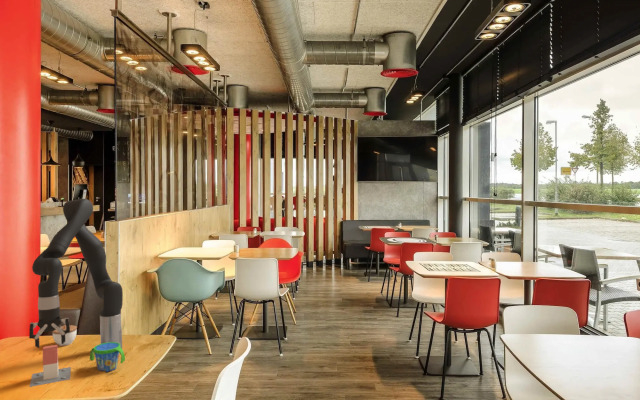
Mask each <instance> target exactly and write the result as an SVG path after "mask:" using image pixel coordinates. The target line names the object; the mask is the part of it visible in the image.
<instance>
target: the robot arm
mask: <svg viewBox="0 0 640 400" xmlns="http://www.w3.org/2000/svg"><path fill="white" fill-rule="evenodd" d="M62 212H63V215H64V217H65V220H66V222H67V223H66V224H65V225H64V226H62V228H60V229H59V230H58V231H57V233H55V234H54V235H53V238H51V241H50V243H49V244H48V246H47V247H46V248H45V249H44V250H43V251H42V252H41V253H40V254H39V255H38V256H37V257H36V258H35V260H34V261H33V263H32V266H31V270H32V272H33V274H34V275H36V276H47V280H42V281H40V282H39V283H38V284H37V289H38V290H37V291H38V294H37V295H38V299H37V309H38V321H37V322H33V321H32V322H30V323H29V328H28V329H29V333H28V335H29V336H28V337H29V339H34V346H35V347H36V349H39V348H40V337H41V335H42V334H43V332H45V333H49V332H52V331H54V330H57V331H58V332H60V333H61V342H62V344H64V342H65V334H66V333H69V332H70V318H69V317H64V318H61V309H60V308H61V307H60V296H59V282H60V278H61V274H62V270H63V263H62V261H61V260H60V258H63V257H64V256H65V254H66V253H67V251H68V249H69V247H70V246H71V243H72V241H73V240H74V238H75V239H76V242H77V244H78V246H79V249H80V252H81V254H82V257H83V260H84V262H85V264H86V266H87V268H88V270H89V273H90V276H91V279H92V282H93V285H94V288H95V289H94V290H95V292H96V295H97V296H98V298H99V299H101V300H103V306H102V308H101V309H100V310H99V326H100V327H99V332H100V333H99V334H100V335H99V337H100V344H102V343H107V342H117V343H120V348H122V349H123V330H122V308H123V304H124V303H123V300H124V299H123V297H124V296H123V294H124V293H123V291H124V290H123V287H122V285H121V284H120V283H119V282H117V281H113V280H112V279H111V276H110V275H109V273H108V270H107V255H106V251H105V248H104V245H103V243H102V241H101V239H99V238H98V237H97V236H96V235H95V234H94V233H93V232H92V231H91V230H90V229H88V227H86V222H87V221H88V220H89V219H90V217H91V216H92V215H93V212H94V205H93V203H92V202H91V200H90V199H87V198H79V199H73V200H68V201H65V203H64V204H63V206H62ZM61 324H63V325H66V330H63V329H62V328H61ZM37 326H38V328H39V329H38V331H37V332H36V334H34V329H35V328H36V327H37Z"/></svg>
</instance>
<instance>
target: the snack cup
mask: <svg viewBox="0 0 640 400" xmlns="http://www.w3.org/2000/svg"><path fill="white" fill-rule="evenodd" d="M119 355H120V356H121V357H120V356H119ZM119 357H120V364H123V363H124V362H125V360H126V356H125V352H124V350H123V347H122V348H120V343H117V342H107V343H102V344H101V343H99V344H97V345H95V346H94V347H93V348H91V350H90V353H89V360H90V361H91V362H93V361H94V360H95V363H96V367H97V370H98V371H100V372H101V371H103V372H104V371H105V373H108V372H112V371H115V370H116V369H117V368H118V361H119Z"/></svg>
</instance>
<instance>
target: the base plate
mask: <svg viewBox="0 0 640 400" xmlns="http://www.w3.org/2000/svg"><path fill="white" fill-rule="evenodd" d="M71 370H72V367H71V366H69V367H63V368H58V378H52V379H47V380H44V376H43V371H40V372H35V373H31V379H30V381H29V382H30V383H29V388H31V387H36V386H42V385H46V384H51V383H52V384H53V383H57V382H63V381H69V380H71V376H72V375H71Z"/></svg>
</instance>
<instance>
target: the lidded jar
mask: <svg viewBox="0 0 640 400" xmlns="http://www.w3.org/2000/svg"><path fill="white" fill-rule="evenodd" d="M69 325H70V324H69ZM60 327H61V328H62V329H63V330H66V324H63V326H62V325H60ZM77 328H78V326H76V325H73V324H71V325H70V332H69V333H66V334H65V342H64V344H62V342H61V333H60V332H58V331H57V330H54V331H51V332H52V338H53V341H54V342H55V344H56V345H58V346H59V347H62V346H63V347H65V346H69V345H71V344H73V342H74V340H75V339H76V337H77V334H78V333H77V332H78V329H77Z"/></svg>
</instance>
